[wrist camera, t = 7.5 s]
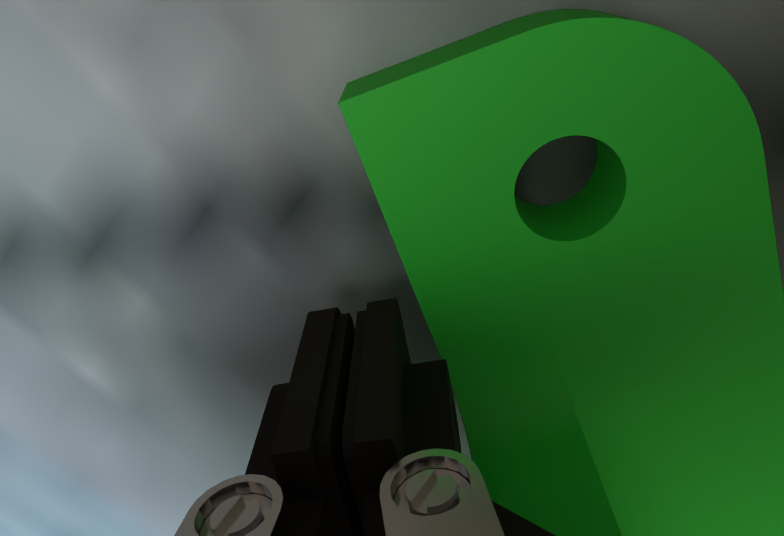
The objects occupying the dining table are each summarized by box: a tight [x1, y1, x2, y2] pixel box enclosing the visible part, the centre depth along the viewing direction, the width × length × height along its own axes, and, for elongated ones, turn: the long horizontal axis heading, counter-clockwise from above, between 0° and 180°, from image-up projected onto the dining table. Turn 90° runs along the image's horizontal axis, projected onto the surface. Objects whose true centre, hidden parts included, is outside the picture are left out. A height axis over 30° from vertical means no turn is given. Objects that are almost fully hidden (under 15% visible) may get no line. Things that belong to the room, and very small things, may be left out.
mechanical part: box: [338, 9, 784, 536], centre depth 10 cm, size 12×6×8 cm, turn 20°
